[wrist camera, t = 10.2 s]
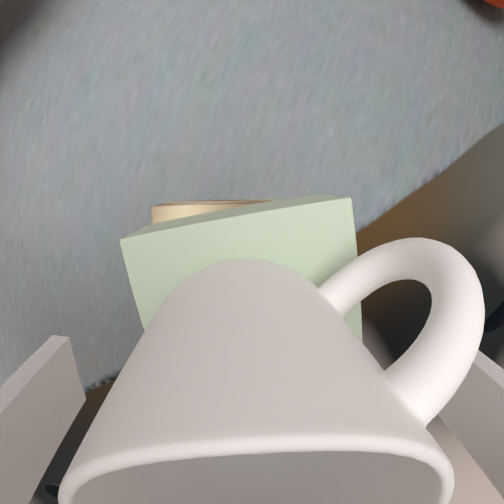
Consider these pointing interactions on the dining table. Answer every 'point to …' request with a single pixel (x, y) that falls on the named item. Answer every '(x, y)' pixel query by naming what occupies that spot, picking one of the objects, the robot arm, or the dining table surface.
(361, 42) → the dining table surface
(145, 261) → the tower top
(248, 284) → the mug
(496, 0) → the tomato
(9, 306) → the dining table surface
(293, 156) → the dining table surface
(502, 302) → the dining table surface
